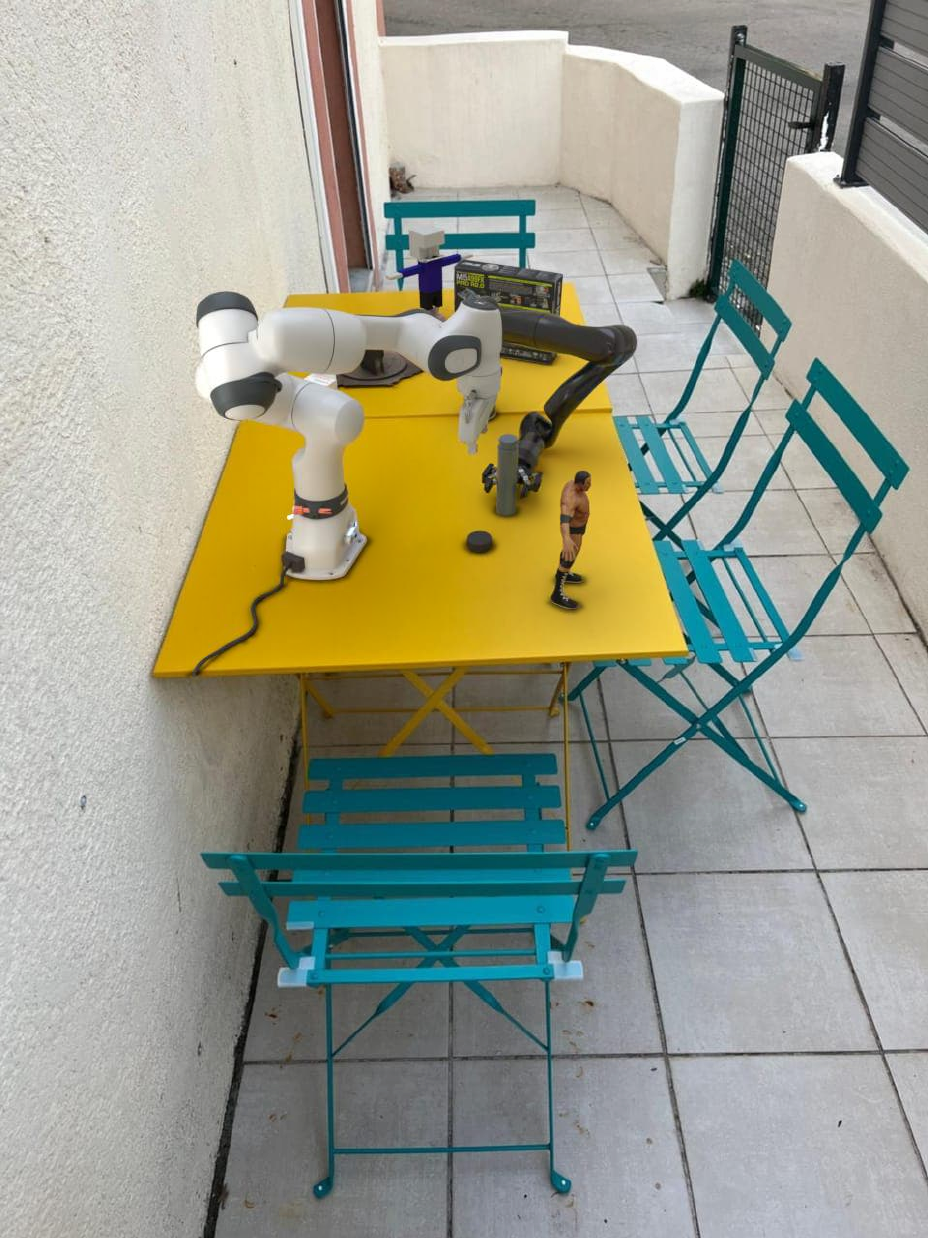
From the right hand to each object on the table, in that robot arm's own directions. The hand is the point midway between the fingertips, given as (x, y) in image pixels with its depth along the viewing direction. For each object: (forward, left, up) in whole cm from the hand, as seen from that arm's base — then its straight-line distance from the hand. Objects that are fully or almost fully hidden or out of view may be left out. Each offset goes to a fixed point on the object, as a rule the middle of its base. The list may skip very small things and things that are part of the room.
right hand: (504, 493), depth 211 cm
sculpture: (-87, -30, -6) cm, 92 cm away
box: (-93, +15, -6) cm, 94 cm away
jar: (-2, +1, -6) cm, 6 cm away
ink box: (-56, -44, -6) cm, 71 cm away
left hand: (+13, -8, +21) cm, 26 cm away
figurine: (+32, +9, -6) cm, 34 cm away
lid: (+12, -7, -4) cm, 15 cm away
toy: (-123, -7, -6) cm, 123 cm away
